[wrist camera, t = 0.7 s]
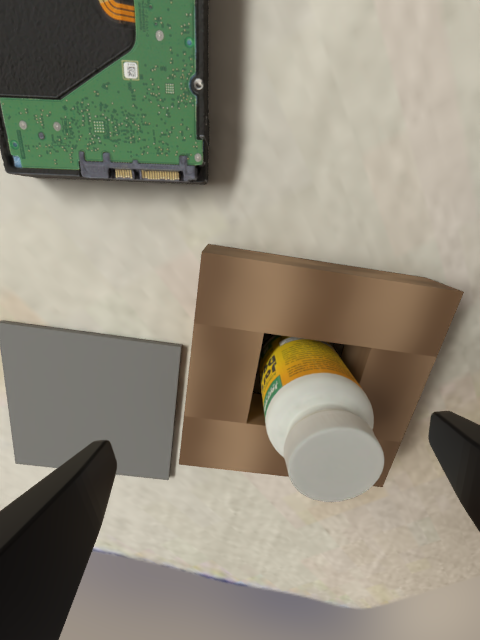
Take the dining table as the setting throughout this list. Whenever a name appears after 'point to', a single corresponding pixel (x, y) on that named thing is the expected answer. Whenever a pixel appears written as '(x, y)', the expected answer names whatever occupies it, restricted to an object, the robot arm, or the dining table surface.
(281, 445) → the supplement bottle
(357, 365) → the socket block
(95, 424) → the rubber mat
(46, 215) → the dining table surface
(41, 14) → the disk drive
